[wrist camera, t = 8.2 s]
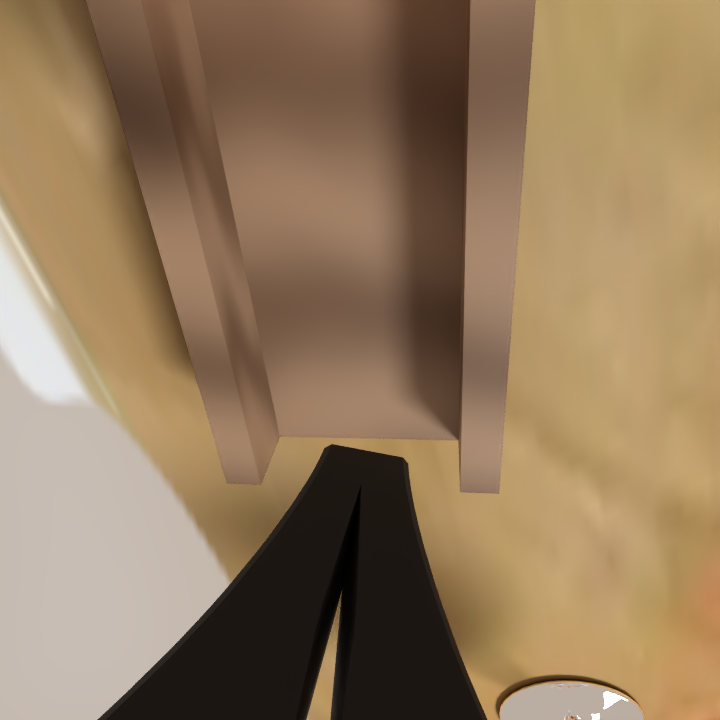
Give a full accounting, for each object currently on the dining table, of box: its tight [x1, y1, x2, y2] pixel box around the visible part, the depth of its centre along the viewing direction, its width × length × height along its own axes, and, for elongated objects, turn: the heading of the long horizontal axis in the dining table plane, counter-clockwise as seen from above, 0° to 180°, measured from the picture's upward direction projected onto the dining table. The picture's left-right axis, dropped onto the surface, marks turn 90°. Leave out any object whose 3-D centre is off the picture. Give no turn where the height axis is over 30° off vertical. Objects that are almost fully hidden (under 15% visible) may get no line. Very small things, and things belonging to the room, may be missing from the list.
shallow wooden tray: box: [86, 0, 536, 494], centre depth 13 cm, size 22×9×4 cm, turn 5°
